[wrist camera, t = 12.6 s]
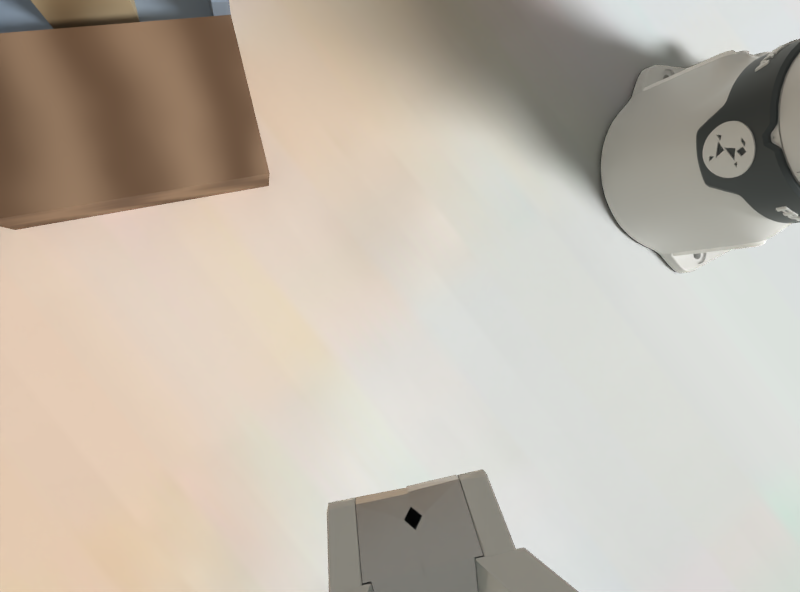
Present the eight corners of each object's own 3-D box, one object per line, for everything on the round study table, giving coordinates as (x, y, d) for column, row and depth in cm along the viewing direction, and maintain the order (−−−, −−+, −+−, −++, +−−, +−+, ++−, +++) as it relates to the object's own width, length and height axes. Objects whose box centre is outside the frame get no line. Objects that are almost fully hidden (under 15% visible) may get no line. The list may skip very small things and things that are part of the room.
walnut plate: (234, 45, 34) (230, 14, 30) (268, 185, 35) (269, 173, 31) (-32, 70, 30) (-75, 39, 26) (15, 229, 31) (-21, 221, 27)
